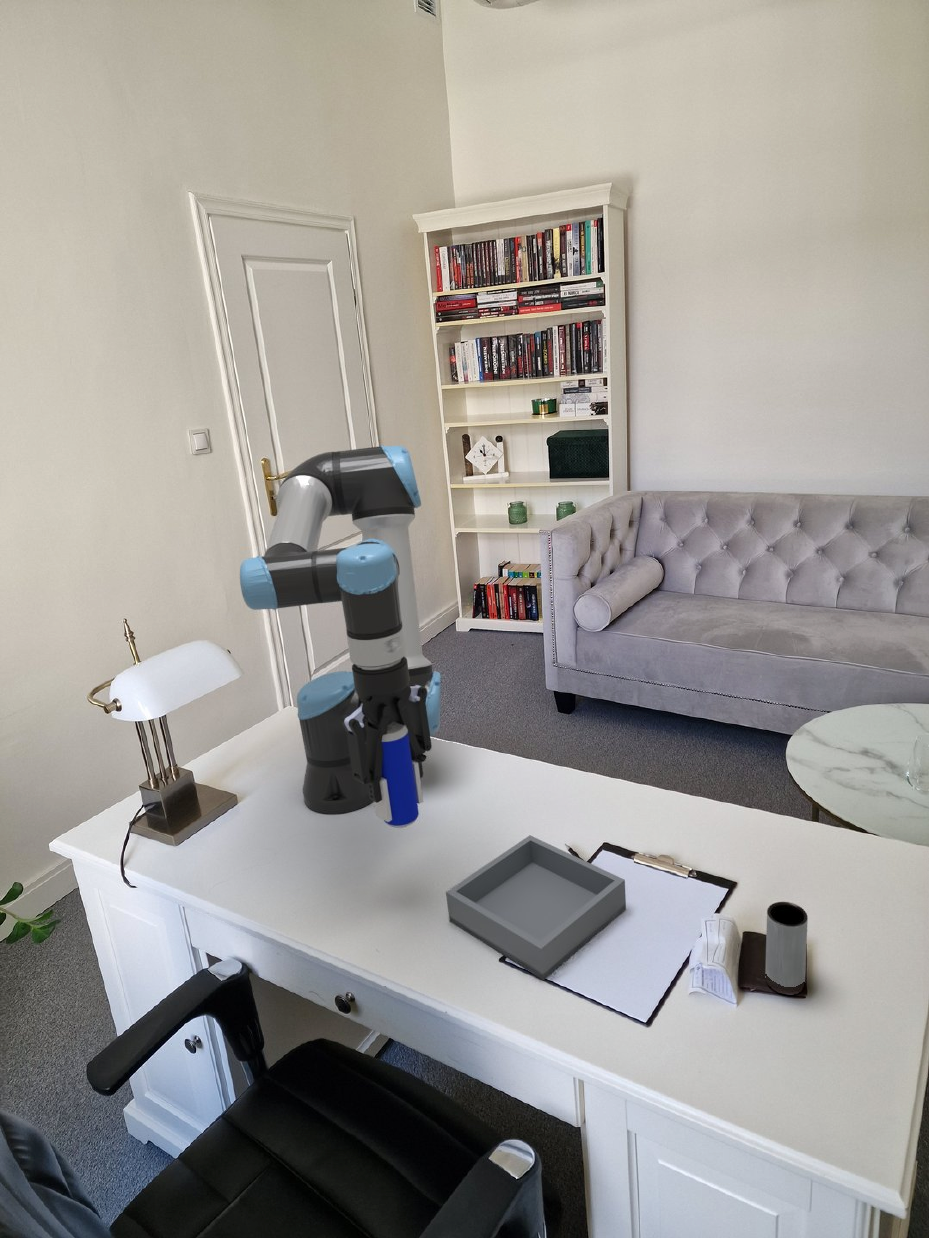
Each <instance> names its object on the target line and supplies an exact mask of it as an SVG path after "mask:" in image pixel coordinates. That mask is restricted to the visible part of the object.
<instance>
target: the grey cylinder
mask: <svg viewBox="0 0 929 1238" xmlns="http://www.w3.org/2000/svg"><path fill="white" fill-rule="evenodd" d="M808 922H809V921H808V913H807V912H806V911H805V910H804V908H803V907H801V906H800V905H798V904H796V903H793V902H789V901H778V902H774V903H772V904H770V905H769V906H768V908H767V910H766V940H765V974H767V976H768V977H769V978H770V979H771V980H772V981H774V982H776V983H777V984H780V985H781V986H784V987H796V986H798V985H800V984H802V983H803V982H805V983H806V968H807V967H806V965H807V945H808V944H807V943H808V942H807V940H808V924H809V923H808Z"/></svg>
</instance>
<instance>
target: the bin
mask: <svg viewBox="0 0 929 1238" xmlns="http://www.w3.org/2000/svg"><path fill="white" fill-rule="evenodd" d="M445 895H446V904H447V911H448V913H447V914H448V921H449V923H452V924H453V925H455V926H457V927H458V928H459V929H461V930H463V931H464V932H466V933H467V934H469V935H471V936H472V937H474V938H476V939H477V940H479V941H480V942H482V943H483V944H485V945H486V946H488V947H490V948H492V949H493V950H495V951H496V952H498V953H499V954H501V955H502V956H504V957H506V958H507V959H508V960H510V961H512V962H513V963H515V964H517V965H518V966H520V967H521V968H523V969H524V970H526V971H528V972H529V973H531V974H532V975H534V976H536V977H537V978H539V979H540V980H542V981H545V980H546V979H548V977H549V976H550V975H552V974H553V973H554V972H555V971H556V970H558V969H559V968H560V967H561V966H562V965H564V964H565V963H566V962H567V961H568V960H569V959H570V958H572V957H573V955H575V954H576V953H577V952H579V951H580V950H581V949H582V948H583V947H585V946H586V945H587V944H588V943H589V942H590V941H592V939H593V938H594V937H596V936H597V935H598V934H599V933H600V932H602V931H603V930H604V929H605V928H606V927H607V926H609V925H610V924H611V923H612V922H613V921H614V920H615V919H617V918H618V917H619V916H620V915H621V914H623V912H625V911H626V910H627V905H626V904H627V902H626V900H627V899H626V897H627V896H626V880H625V879H624V878H622V877H619V876H617V875H615V874H614V873H611V872H610V871H607V870H605V869H603V868H601V867H599V866H597V865H594V864H592V863H590V862H588V861H586V860H583V859H582V858H579V857H578V856H575V855H574V854H571V853H569V852H567V851H564V850H562V849H560V848H558V847H556V846H554V845H552V844H549V843H547V842H546V841H544V840H541V839H539V838H537V837H534V836H532V835H528V836H526V837H525V838H523V839H522V840H521V841H519V842H518V843H516V844H515V845H513V846H512V847H510V848H508V849H507V850H505V852H503V853H501V854H500V855H498V856H497V857H496V858H494V859H492V860H491V861H490V862H488V863H486V864H485V865H484V866H482V867H480V868H479V869H478V870H477V871H474V872H473V873H472V874H470V875H469V876H467V877H466V878H464V879H462V880H461V881H460V882H459V883H457V884H455V885H454V886H452V888H450V889H448V890H447V891H445Z"/></svg>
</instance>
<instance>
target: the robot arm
mask: <svg viewBox="0 0 929 1238" xmlns="http://www.w3.org/2000/svg"><path fill="white" fill-rule="evenodd" d="M276 503H277V504H276V505H277V508H278V511H277V514H276V518H275V521H274V524H273V526H272V527H273V528H272V530H271V533H270V536H269V540H268V543H267V546H266V549H265V552H264V555H263V556H261V555H257V556H255V557H251V558H246V559H244V560H243V561H242V562H241V564H240V567H239V583H240V590H241V595H242V598H243V600H244V603H245V605H246V606H247V607H248V608H249V609H251V610H254V611H255V610H273V611H275V610H277V609H286V608H293V607H301V606H309V605H317V604H319V605H320V604H327V603H328V604H329V603H336V602H337V603H338V602H339V603H340V602H341V603H342V604H341V605H342V610H343V616H344V622H345V626H346V627H345V630H346V637H347V646H348V647H347V648H348V654H349V660H350V662H351V663H352V665H351V671H346V670H342V671H334V672H329V673H326V674H323V675H321V676H317V677H316V678H314V679H312V680H310V681H308V682H307V683H306V684H304V685H303V686H302V687H301V688H300V690H299V691H298V692H297V695H296V706H297V718H298V720H299V725H300V730H301V735H302V736H301V737H302V742H303V747H304V753H305V758H306V766H305V774H304V778H303V779H304V780H303V786H302V797H303V802H304V804H305V805H306V807H307V808H309V809H310V810H312V811H314V812H317V813H321V814H332V815H333V814H342V813H343V814H344V813H349V812H353V811H356V810H359V809H362V808H364V807H366V806H368V805H370V804H372V803H373V804H374V809H375V816H376V817H379V818H380V819H382V820H383V821H384V820H385V821H387V822H389V821H391V820H392V815H391V808H390V801H389V794H388V788H387V781H386V779H384V778H382V777H381V773H382V761H383V747H382V737H383V735H386V734H387V728H388V725H389V724H390V723H392V722H396V723H399V724H401V725H403V726H404V725H405V726H406V728H407V729H408V736H409V744H410V751H411V759H412V767H413V774H414V782H415V789H416V797H417V804H418V805H420V804H422V803H424V798H423V791H422V790H423V789H422V782H421V779H422V778H423V777H424V771H423V763H424V762H425V761H426V759H427V755H426V754H425V753H426V752H430V751H431V750H432V746H433V745H432V739H431V735H434V734H435V733H437V732H438V730H439V728H440V719H441V717H440V716H441V673H440V672H439V671H437V670H434V671H433V666H432V662H431V660H429V659H428V658H426V657H425V656H424V654H423V650H422V649H423V647H422V639H421V631H420V630H421V629H420V622H419V614H418V603H417V594H416V587H415V586H416V585H415V578H414V568H413V559H412V551H411V543H410V534H409V526H410V525H411V524H412V522H413V521H414V520H415V518H416V513H415V509H418V508H419V507H422V501H421V495H420V493H419V488H418V484H417V479H416V476H415V471H414V468H413V463H412V459H411V456H410V452H409V450H408V449H407V448H406V447H405V446H401V445H386V446H385V445H380V446H374V447H373V446H372V447H364V448H356V449H347V450H338V451H328V452H322V453H320V454H316V455H314V456H312V457H310V458H308V459H306V460H304V462H303V461H302V462H301V463H300V464H298V465H297V466H296V467H295V468H293V470H291V471H290V472H289V473H288V474H287V475H286V477H285V478H284V479H283V481H282V482H281V484H280V486H279V488H278V491H277V496H276ZM346 515H351V520H352V524H353V526H355V528H357V529H358V530H359V531H360V532H361V533H362V535H361V537H362V540H361V541H360V542H358V543H357V544H356V545H353V546H348V547H341V548H333V549H332V548H331V549H325V550H323V549H322V550H318V548H319V547H318V546H319V544H320V543H319V542H320V538H321V532H322V527H323V523H324V521H326V519H327V518H328V517H334V516H346ZM385 821H384V822H385Z"/></svg>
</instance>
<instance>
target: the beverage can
mask: <svg viewBox="0 0 929 1238" xmlns="http://www.w3.org/2000/svg"><path fill="white" fill-rule="evenodd" d="M382 747H383V761H382V773H381V777H382V778H384V779H386V781H387V788H388V794H389V801H390V808H391V815H392V820H391V821H389V822H387V821H385V820H383V822H384V823H385V824H387V825H388V826H390V827H391V828H393V829H394V828H395V829H396V828H397V829H402V828H406V827H409V826H411V825H413V824H414V823H415V822H416V820H417V819H418V817H419V815H420V813H419V812H420V811H419V806H418V805H419V804H418V803H417V797H416V789H415V782H414V774H413V767H412V759H411V751H410V744H409V736H408V729H407V728H406V726H405V725H404V726H403V725H401V724H399V723H396V722H392V723H390V724H389V725H388V728H387V734H386V735H383V737H382Z"/></svg>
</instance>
